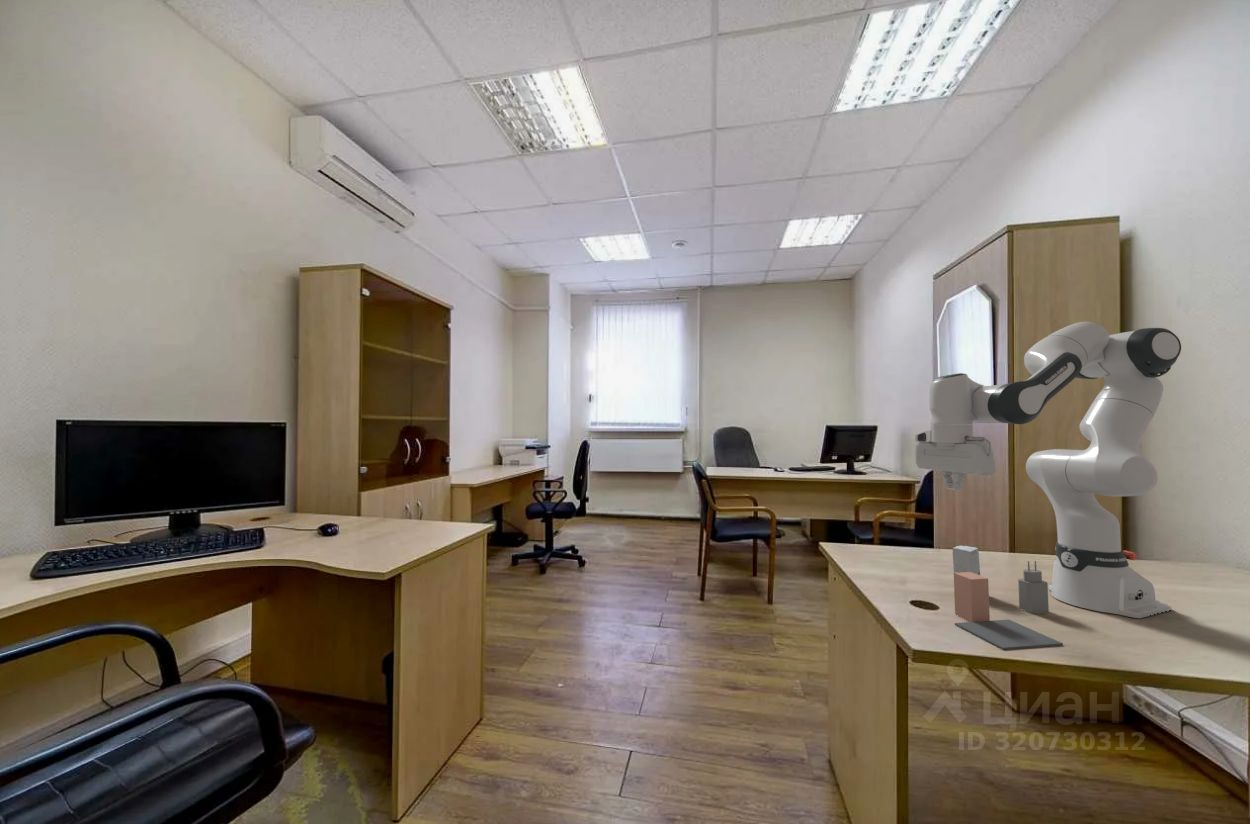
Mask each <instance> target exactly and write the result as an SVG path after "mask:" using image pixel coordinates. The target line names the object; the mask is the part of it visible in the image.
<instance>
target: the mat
mask: <svg viewBox="0 0 1250 824" xmlns="http://www.w3.org/2000/svg"><path fill="white" fill-rule="evenodd" d="M956 625H957V626H956ZM954 626H956V627H958V626H959V627H958V628H960V629H962V630H964V631H966V632H968V633H969V632H970V633H969V634H971V635H973V636H976V637H977V638H980V639H981V640H983V641H986V642H987V643H989V644H991V645H992V646H995V647H996V648H998V649H1000V650H1004V651H1005V650H1018V649H1028V648H1042V647H1043V648H1044V647H1045V648H1046V647H1056V646H1057V647H1058V646H1064V645H1063V642H1061V641H1059V640H1056V639H1054V638H1052V637H1050V636H1047V635H1045V634H1043V633H1041V632H1039V631H1036V630H1034V629H1031V628H1029V627H1027V626H1025V625H1022V624H1020V623H1018V622H1017V621H1016V622H1015V621H1013V620H1012V619H998V620H990V621H979V622H969V621H965V622H955V623H954Z"/></svg>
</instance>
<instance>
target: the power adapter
mask: <svg viewBox="0 0 1250 824" xmlns="http://www.w3.org/2000/svg"><path fill="white" fill-rule="evenodd" d="M1022 573H1023V574H1022V575H1023V576H1022V578H1018V579H1017V580H1018V581H1017V582H1018V583H1017V584H1018V585H1017V587H1018V609H1019V608H1020V609H1019V610H1021V609H1023V610H1025V611H1024V612H1026V611H1027V612H1026V613H1028V612H1030V613H1029V614H1045V612H1048V613H1049V612H1050V611H1049V610H1050V609H1049V585H1048V581H1046V580H1043V576H1042V575H1043V574H1042V570H1039V569H1037V560H1034V569H1033V568H1031V567H1030V561H1029V560H1027V569H1022ZM1023 610H1022V611H1023Z"/></svg>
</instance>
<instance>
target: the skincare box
mask: <svg viewBox="0 0 1250 824" xmlns="http://www.w3.org/2000/svg"><path fill="white" fill-rule="evenodd" d="M952 564H953V566H952V567H953V574H954V573H961V572H972V573H974V574H977V575H980V576H981V569H980V568H981V566H980V565H981V564H980V553H979V548H978V547H975V546H974V547H973V546H968V545H957V546H954V547H953V548H952Z"/></svg>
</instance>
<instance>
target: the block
mask: <svg viewBox="0 0 1250 824" xmlns="http://www.w3.org/2000/svg"><path fill="white" fill-rule="evenodd" d="M953 587H954V589H953V591H954V592H953V593H954V615H955V614H956V615H955V616H957V615H958V616H957V617H959V616H960V617H959V618H961V617H962V618H961V619H963V618H964V619H963V620H965V619H966V620H965V621H967V620H968V621H967V622H969V621H970V622H979V621H991V618H990V594H989V593H990V592H989V591H990V590H989V578H988V577H986V576H983V575H981V574H980V575H977V574H974V573H972V572H961V573H954V572H953Z"/></svg>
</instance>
